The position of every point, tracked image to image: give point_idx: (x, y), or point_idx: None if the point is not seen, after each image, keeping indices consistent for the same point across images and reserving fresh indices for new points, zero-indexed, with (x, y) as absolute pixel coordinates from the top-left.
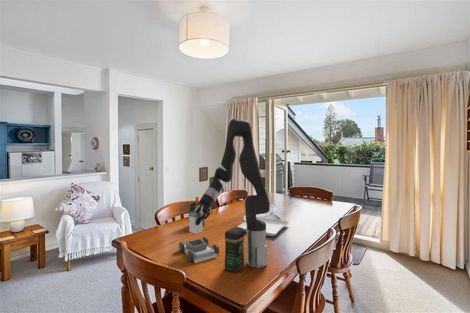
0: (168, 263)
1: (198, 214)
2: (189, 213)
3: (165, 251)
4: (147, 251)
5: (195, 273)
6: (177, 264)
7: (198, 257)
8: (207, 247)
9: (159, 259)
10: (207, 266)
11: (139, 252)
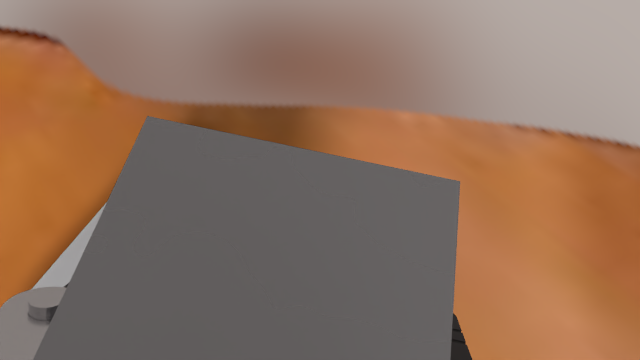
0: (320, 120)
1: (88, 261)
2: (432, 177)
3: (502, 247)
4: (609, 184)
5: (65, 98)
6: (254, 134)
7: None
8: None
9: (420, 134)
10: (18, 201)
11: (633, 149)
